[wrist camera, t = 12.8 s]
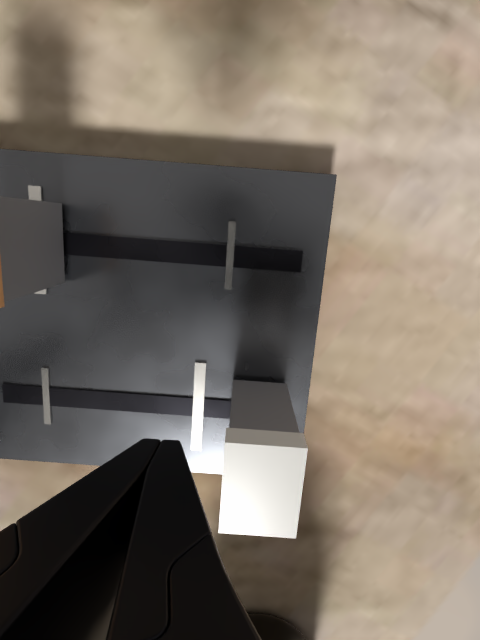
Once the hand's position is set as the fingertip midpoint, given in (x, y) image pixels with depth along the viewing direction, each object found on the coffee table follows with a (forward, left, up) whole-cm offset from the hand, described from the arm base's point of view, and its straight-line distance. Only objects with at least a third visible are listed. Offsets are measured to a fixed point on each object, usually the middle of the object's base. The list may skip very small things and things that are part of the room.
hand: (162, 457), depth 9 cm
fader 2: (+3, -3, -8) cm, 9 cm away
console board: (-4, 0, -10) cm, 11 cm away
